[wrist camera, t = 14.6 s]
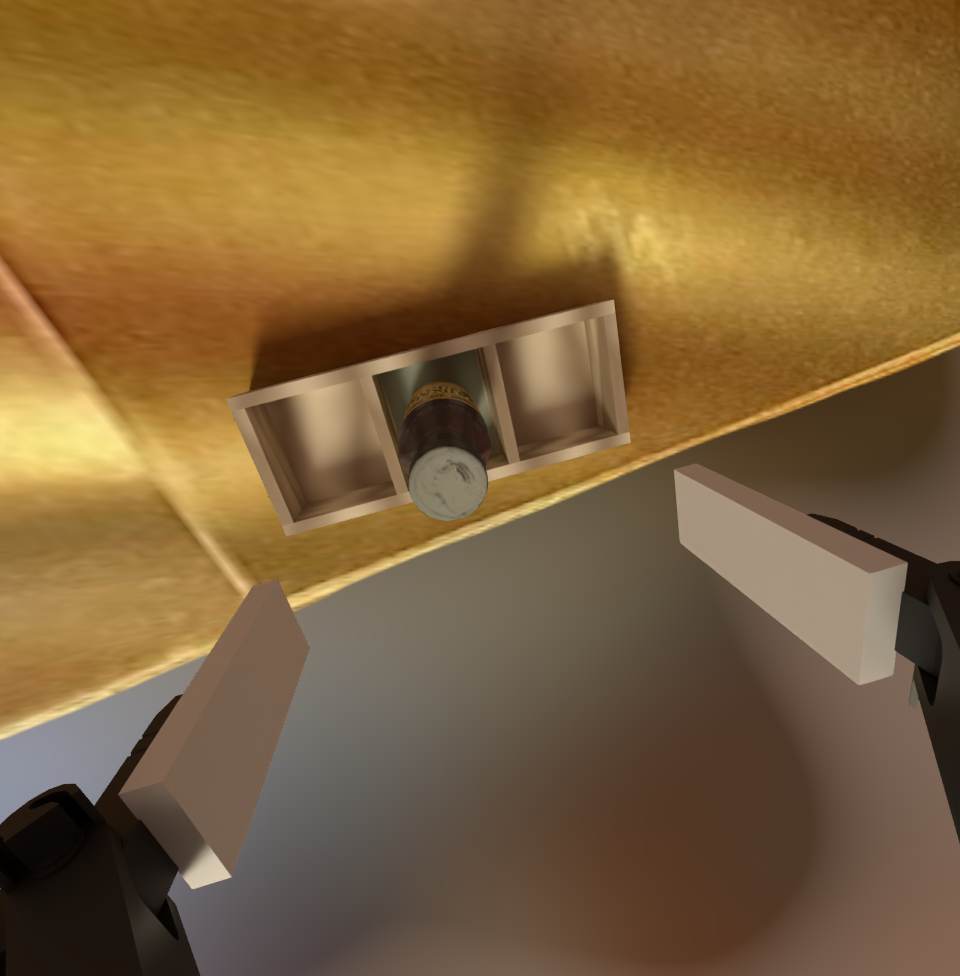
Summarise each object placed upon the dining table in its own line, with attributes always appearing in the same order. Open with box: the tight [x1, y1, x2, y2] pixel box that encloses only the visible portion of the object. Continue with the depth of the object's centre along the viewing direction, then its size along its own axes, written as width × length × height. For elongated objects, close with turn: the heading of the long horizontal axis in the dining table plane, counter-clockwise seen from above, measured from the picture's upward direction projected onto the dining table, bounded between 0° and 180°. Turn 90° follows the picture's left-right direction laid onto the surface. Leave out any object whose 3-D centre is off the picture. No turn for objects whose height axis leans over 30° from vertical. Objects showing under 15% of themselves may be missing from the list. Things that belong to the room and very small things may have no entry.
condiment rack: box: [226, 300, 631, 536], centre depth 39 cm, size 31×12×5 cm, turn 103°
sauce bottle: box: [398, 381, 492, 521], centre depth 31 cm, size 6×6×20 cm
